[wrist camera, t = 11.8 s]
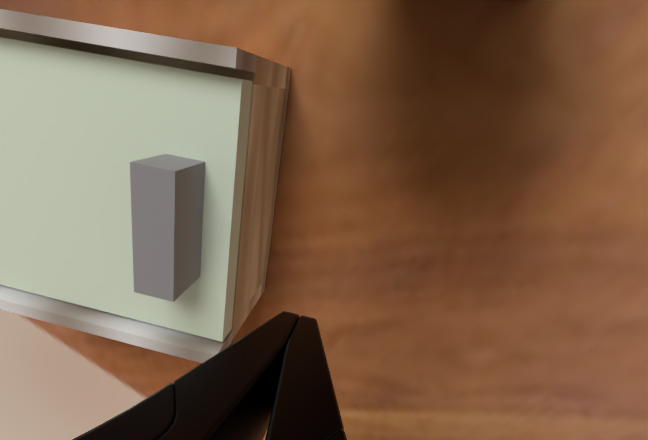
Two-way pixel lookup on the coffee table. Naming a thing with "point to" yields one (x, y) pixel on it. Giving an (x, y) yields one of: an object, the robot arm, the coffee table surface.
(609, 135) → the coffee table surface
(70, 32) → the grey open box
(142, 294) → the lid
